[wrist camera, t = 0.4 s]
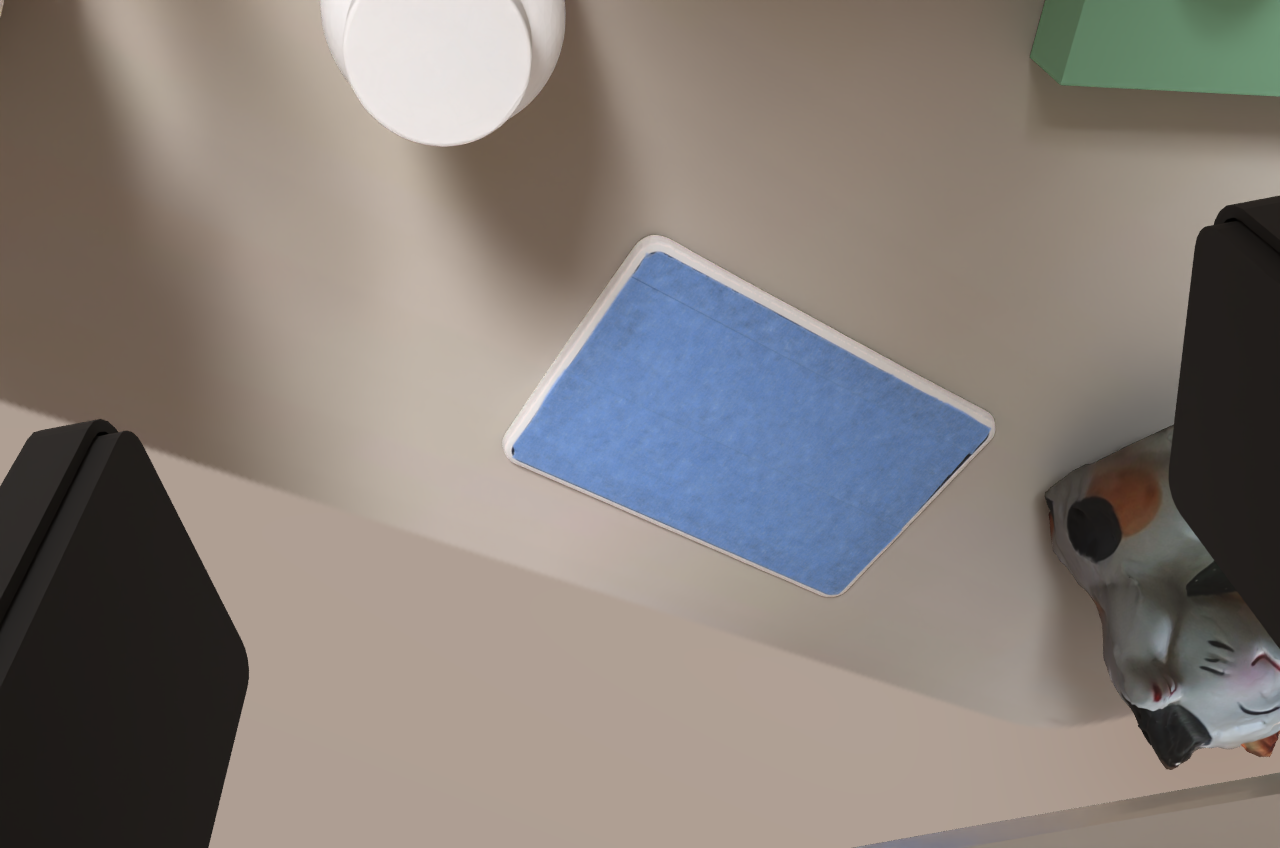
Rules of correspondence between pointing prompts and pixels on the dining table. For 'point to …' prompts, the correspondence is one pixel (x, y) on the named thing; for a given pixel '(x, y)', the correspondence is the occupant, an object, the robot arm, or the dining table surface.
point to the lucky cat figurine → (1165, 608)
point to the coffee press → (1, 6)
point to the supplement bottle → (444, 61)
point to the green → (1162, 45)
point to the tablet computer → (742, 422)
